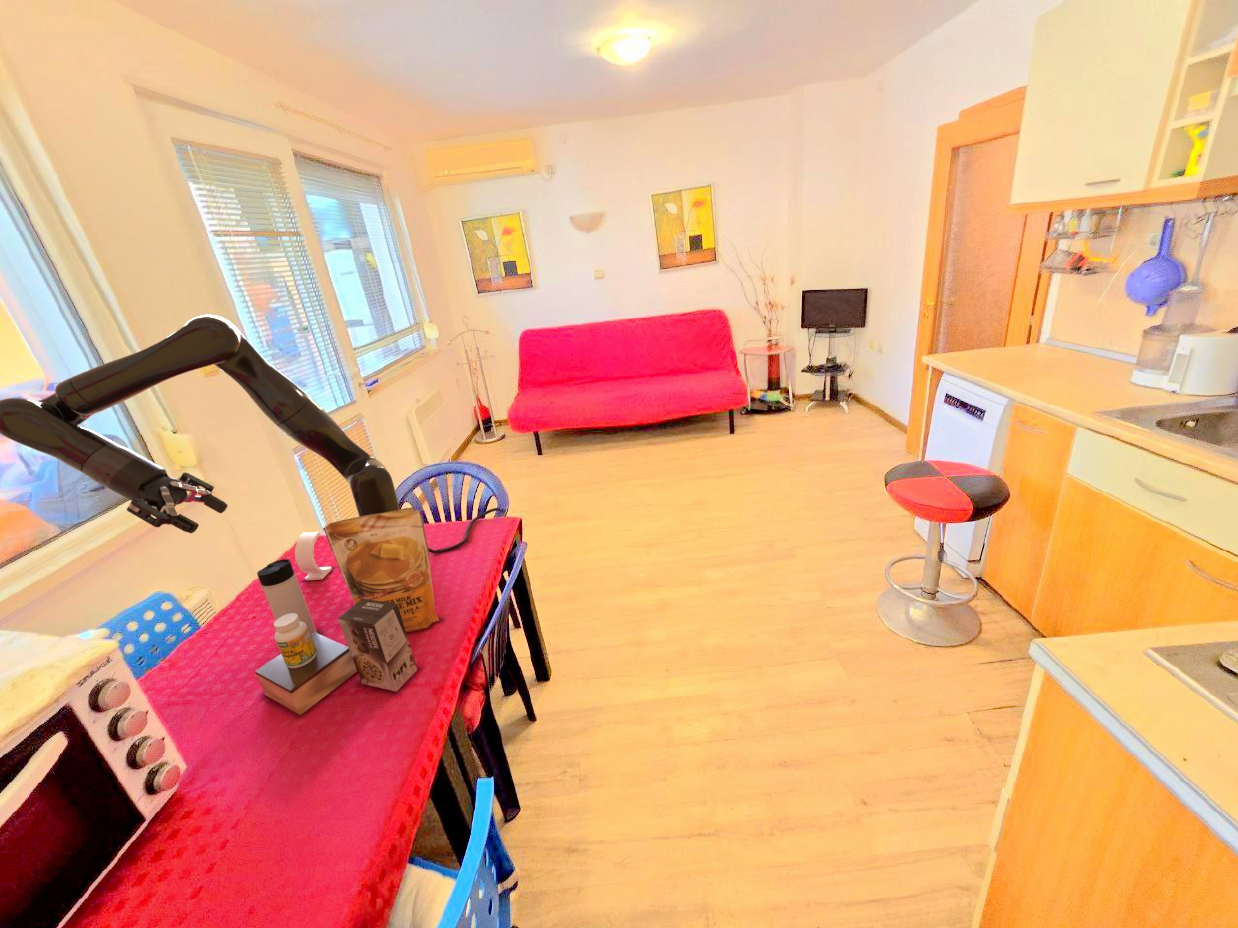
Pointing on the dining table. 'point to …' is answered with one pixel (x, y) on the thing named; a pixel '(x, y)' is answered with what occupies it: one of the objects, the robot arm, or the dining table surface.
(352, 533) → the pancake mix bag
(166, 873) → the dining table surface
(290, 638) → the supplement bottle
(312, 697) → the stand
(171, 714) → the dining table surface
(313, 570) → the headphone stand
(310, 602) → the dining table surface
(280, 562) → the travel mug
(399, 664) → the coffee box
